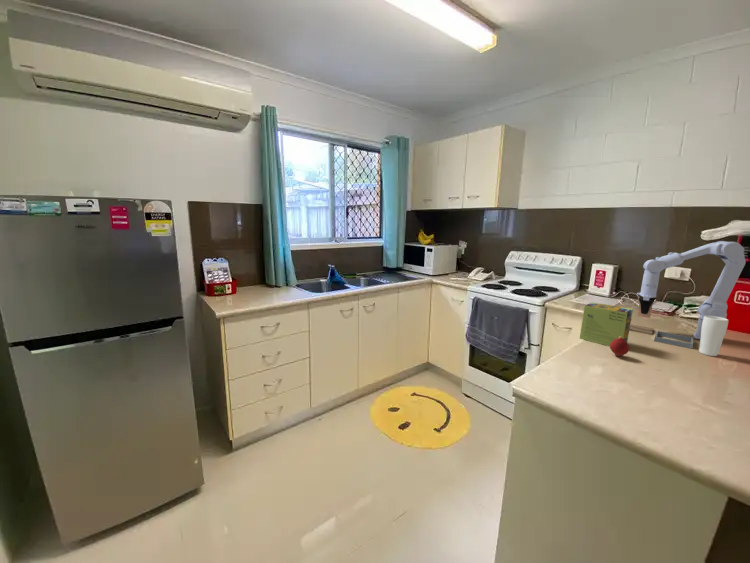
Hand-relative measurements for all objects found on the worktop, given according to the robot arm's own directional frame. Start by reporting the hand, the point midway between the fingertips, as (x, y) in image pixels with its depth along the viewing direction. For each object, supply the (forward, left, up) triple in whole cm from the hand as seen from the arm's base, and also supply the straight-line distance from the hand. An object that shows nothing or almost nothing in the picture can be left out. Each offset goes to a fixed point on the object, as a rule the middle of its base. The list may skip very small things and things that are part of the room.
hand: (644, 312), depth 152 cm
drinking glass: (+18, +22, -9) cm, 30 cm away
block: (0, 0, -2) cm, 2 cm away
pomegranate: (+48, -3, -9) cm, 49 cm away
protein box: (+32, -10, -9) cm, 35 cm away
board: (-1, -1, -9) cm, 9 cm away
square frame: (+9, +12, -9) cm, 17 cm away
